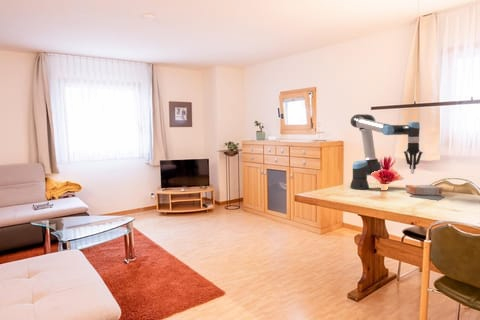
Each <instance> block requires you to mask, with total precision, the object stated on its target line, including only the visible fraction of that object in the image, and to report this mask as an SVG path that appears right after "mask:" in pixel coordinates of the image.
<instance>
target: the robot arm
mask: <svg viewBox="0 0 480 320" xmlns="http://www.w3.org/2000/svg"><path fill="white" fill-rule="evenodd" d="M350 124H351V126H352V127H354V128H357V129H358V130H359V131H360V133H361V136H362V137H361V138H362V145H363V151H364V159H363V160H357V161H354V162H353V163H352V179H351V182H350V185H349V186H350V187H349V188H350V189H352V190H361V191H362V190H363V191H364V190H365V191H366V190H369V189H370V185H369V182H368V176H372V175H371V173H372V172H374V171H378V170H381V169H383V167H382V168H381V165H382V164H381V165H380V163H381V162H380V161H379V159H378V158H377V156H376V150H375V149H376V148H375V144H374V137H373V131H374V132H378V133H382V134H383V135H385V136H394V135H395V136H401V135H402V136H404V135H406V136H407V142H408V143H407V149H406V150H405V151H403V153H404V156H405V161H406V164H407V165H409V170H410V174H411V175H412V174H415V170H416V169H417V168H416V167H417V165H419V163H420V160H421V158H422V154H423V153H424V152H423V151H421V150H420V143H419V142H420V129H421V127H420V122H419V121H410V122H408V124H394V125H393V124H388V123H385V122H379V121H376V118H375V117H374V116H373V115H372V114H367V113H365V114H360V113H359V114H354V115H353V116H352V117H351V118H350ZM417 154H418V155H417ZM381 171H382V170H381Z"/></svg>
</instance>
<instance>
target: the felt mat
mask: <svg viewBox="0 0 480 320" xmlns="http://www.w3.org/2000/svg"><path fill="white" fill-rule="evenodd" d="M408 197H410V198H415V199H424V200H432V201H439V200H442V199H444V198H445V196H441V195H414V194H411V195H409V196H408Z"/></svg>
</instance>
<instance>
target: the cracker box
mask: <svg viewBox="0 0 480 320" xmlns="http://www.w3.org/2000/svg"><path fill="white" fill-rule="evenodd" d="M405 192H406V193H408V194H411V195H413V194H414V195H436V196H441V195H443V187H441V186H437V185H432V184H406V185H405Z"/></svg>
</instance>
